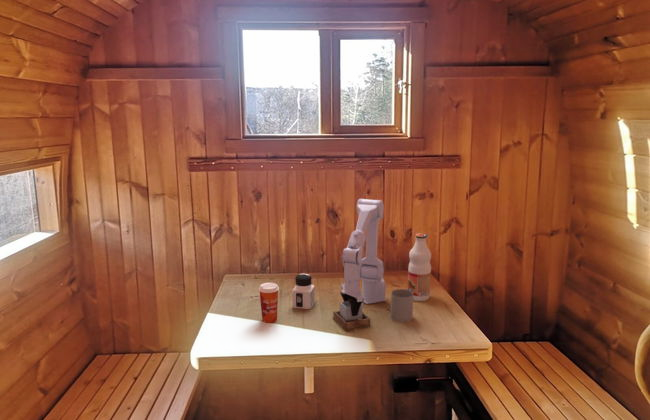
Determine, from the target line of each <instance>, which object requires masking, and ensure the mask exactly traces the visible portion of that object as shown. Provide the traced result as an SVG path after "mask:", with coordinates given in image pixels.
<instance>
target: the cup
mask: <svg viewBox="0 0 650 420" xmlns="http://www.w3.org/2000/svg"><path fill="white" fill-rule="evenodd" d="M390 298H391V300H390V301H391V302H390V304H391V305H390V318H391V319H392V320H394V321H396V322H400V323H405V322H406V323H407V322H411V320H413V309H414V307H413V306H414V305H413V304H414V300H413V292H411V291H409V290H408V289H405V288H404V289H403V288H399V289H398V288H397V289H393V290H392V291H391V296H390Z"/></svg>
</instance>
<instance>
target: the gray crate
mask: <svg viewBox="0 0 650 420" xmlns="http://www.w3.org/2000/svg"><path fill="white" fill-rule="evenodd" d="M363 307H364V306H363V303H362V304H361V306H360V309H359V312H358V315H357V316H352V313H351V306H350V303H349V301H346V302H344V301H341V302H339V311H340V316H341V317H342V318H343V319H344V320H345V321H350V320H355V319H360V318H362V312H363Z"/></svg>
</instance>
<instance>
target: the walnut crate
mask: <svg viewBox="0 0 650 420" xmlns="http://www.w3.org/2000/svg"><path fill="white" fill-rule="evenodd" d="M332 312H333V313H332V315H333V317H332V318H333V320H334V321H335V322H336V323H337V324H338V325H339V326H340V327H341V328H342V329H343V330H344V331H345V332H347V331H348V332H349V331H352V330H357V329H362V328H367V327H370V326H371V318H370V317H369V316H368V315H367V314H366V313H365V312H363V311H362V318H360V319H355V320H350V321H345V320H344V319H343V318H342V317H341V316H340V310H334V311H332Z"/></svg>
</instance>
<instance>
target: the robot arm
mask: <svg viewBox="0 0 650 420" xmlns="http://www.w3.org/2000/svg"><path fill="white" fill-rule="evenodd" d="M384 210H385V205H384V201H383V200H382V199H367V198H359V199H358V200H357V203H356V212H357V216H358V219H357V221H356V222H357V223H356V227H355V230H353V231H352V232H351V234H350V236H349V240H348V243H347V246H346V248H345V247H344V248H343V250H342V254H341V261H342V267H343V268H344V269H343V270H344V275H343V276H344V278H343V281H344V282H343V283H341V285H340V286H341V289H342V290H341V291H340V295H341V298H342V302H346V301H349V303H350V306H351V313H352V316H357V315H358V312H359V309H360V306H361V304H362V305H363V303H364V304H366V305H369V304H375V303H381V302H386V301H387V298H386V287H387V285H386V281H385V280H384V274H385V268H384V262H383V261H382V260H381V259H380V258H379V257H378V248H379V247H378V243H379V222H380V220H381V219H383V218H384ZM365 233H366V234H365ZM365 243H366V244H365ZM364 245H365V257H363V253H364V250H363V249H364ZM360 280H361V281H360ZM360 282H362V284H361V283H360ZM360 284H361V286H362V287H361V290H360Z"/></svg>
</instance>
